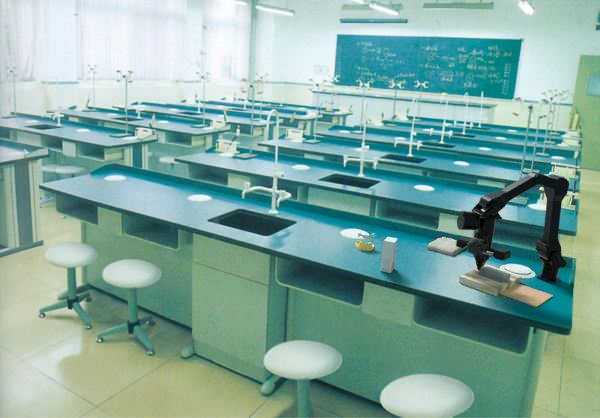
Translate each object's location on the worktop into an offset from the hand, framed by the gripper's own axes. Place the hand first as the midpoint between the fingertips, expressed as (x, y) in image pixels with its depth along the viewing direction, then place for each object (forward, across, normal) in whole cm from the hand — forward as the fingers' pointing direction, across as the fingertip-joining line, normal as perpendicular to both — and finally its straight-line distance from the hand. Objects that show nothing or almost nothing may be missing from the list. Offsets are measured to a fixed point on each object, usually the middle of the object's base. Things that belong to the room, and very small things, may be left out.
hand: (479, 270), depth 184 cm
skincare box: (+3, -25, -22) cm, 34 cm away
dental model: (+3, -46, -10) cm, 47 cm away
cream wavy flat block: (+3, +5, 0) cm, 6 cm away
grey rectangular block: (+1, +6, 0) cm, 6 cm away
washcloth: (+4, -25, +21) cm, 33 cm away
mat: (+3, +18, 0) cm, 18 cm away
